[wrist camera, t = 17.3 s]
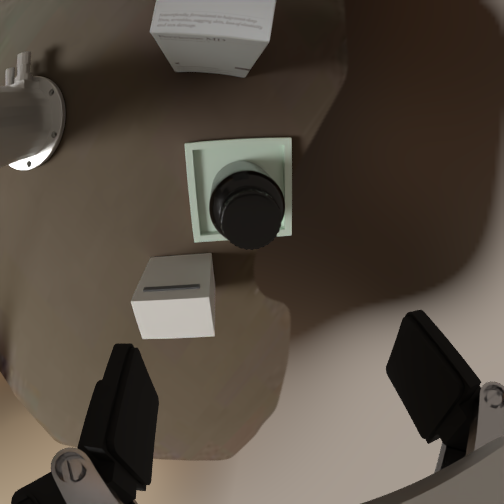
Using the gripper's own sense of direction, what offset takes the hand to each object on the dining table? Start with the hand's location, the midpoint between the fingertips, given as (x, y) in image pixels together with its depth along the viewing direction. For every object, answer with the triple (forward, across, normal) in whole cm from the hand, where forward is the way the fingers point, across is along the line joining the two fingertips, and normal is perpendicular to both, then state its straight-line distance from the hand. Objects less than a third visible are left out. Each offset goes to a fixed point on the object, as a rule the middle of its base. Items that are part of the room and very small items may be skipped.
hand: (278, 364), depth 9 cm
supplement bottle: (+26, -1, 0) cm, 27 cm away
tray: (+27, -1, 0) cm, 27 cm away
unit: (+27, +7, +11) cm, 30 cm away
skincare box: (+27, +1, -16) cm, 32 cm away
